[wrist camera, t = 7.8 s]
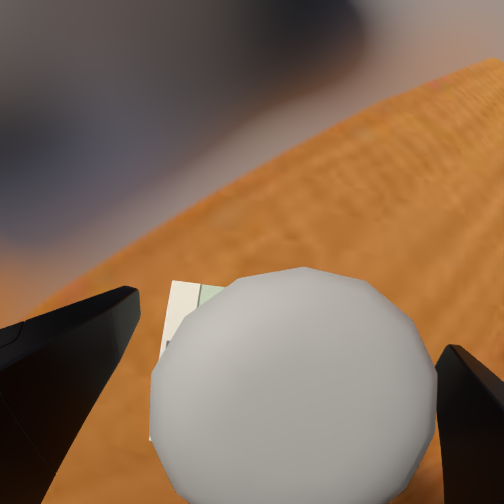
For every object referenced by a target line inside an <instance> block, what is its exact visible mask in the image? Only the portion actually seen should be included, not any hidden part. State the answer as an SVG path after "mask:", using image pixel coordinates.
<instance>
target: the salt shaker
mask: <svg viewBox="0 0 504 504" xmlns="http://www.w3.org/2000/svg"><path fill="white" fill-rule="evenodd" d="M436 404H437V372H436V369H435V367H434V365H433V363H432V360H431V358H430V356H429V354H428V352H427V349H426V347H425V345H424V343H423V341H422V339H421V337H420V334H419V332H418V330H417V328H416V326H415V324H414V322H413V320H412V319H411V318H409V317H408V316H407V315H406V314H405V313H404V312H402V311H401V310H400V309H399V308H398V307H396V306H395V305H394V304H393V303H392V302H391V301H389V300H388V299H387V298H386V297H385V296H383V295H382V294H381V293H380V292H378V291H377V290H376V289H375V288H374V287H372V286H371V285H370V284H369V283H368V282H366V281H363V280H359V279H355V278H350V277H346V276H342V275H337V274H333V273H329V272H324V271H320V270H316V269H311V268H307V267H300V268H294V269H288V270H283V271H277V272H272V273H266V274H260V275H255V276H249V277H243V278H238V279H237V280H236V281H234V282H233V283H231V284H230V285H229V286H227V287H226V288H224V289H223V290H222V291H220V292H219V293H217V294H216V295H215V296H213V297H212V298H210V299H209V300H208V301H206V302H205V303H203V304H202V305H201V306H199V307H198V308H196V309H195V310H194V311H192V312H191V313H189V314H188V315H187V316H185V317H184V319H183V320H182V322H181V324H180V325H179V327H178V329H177V330H176V332H175V334H174V336H173V337H172V339H171V341H170V342H169V344H168V346H167V347H166V349H165V351H164V352H163V354H162V356H161V358H160V359H159V361H158V363H157V364H156V366H155V368H154V370H153V371H152V375H151V397H150V438H151V441H152V443H153V445H154V448H155V450H156V452H157V454H158V457H159V459H160V461H161V463H162V465H163V467H164V469H165V472H166V474H167V476H168V478H169V480H170V482H171V484H172V486H173V488H174V490H175V492H176V493H177V494H178V495H180V496H181V497H182V498H183V499H185V500H186V501H187V502H189V503H190V504H387V503H389V502H390V501H391V500H393V499H394V498H395V497H396V496H397V495H399V494H400V493H401V492H402V491H404V490H405V489H406V487H407V486H408V484H409V482H410V480H411V479H412V477H413V475H414V473H415V471H416V470H417V468H418V466H419V464H420V462H421V460H422V458H423V456H424V454H425V452H426V450H427V448H428V446H429V444H430V442H431V440H432V438H433V436H434V432H435V420H436Z"/></svg>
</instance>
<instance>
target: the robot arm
mask: <svg viewBox="0 0 504 504" xmlns="http://www.w3.org/2000/svg"><path fill="white" fill-rule="evenodd" d="M140 315H141V310H140V297H139V291H138V289H137V288H134V287H130V286H122V287H119V288H116V289H113V290H110V291H107V292H104V293H102V294H99V295H96V296H93V297H90V298H87V299H84V300H82V301H79V302H76V303H73V304H70V305H67V306H65V307H62V308H59V309H56V310H53V311H50V312H48V313H45V314H42V315H39V316H36V317H34V318H31V319H28V320H25V322H24V321H22V322H19V323H17V324H14V325H11V326H8V327H5V328H2V329H0V504H41V502H42V500H43V498H44V496H45V494H46V492H47V491H48V489H49V487H50V485H51V483H52V481H53V479H54V477H55V475H56V472H57V471H58V469H59V467H60V465H61V463H62V461H63V460H64V458H65V456H66V454H67V452H68V450H69V448H70V447H71V445H72V443H73V441H74V439H75V438H76V436H77V434H78V432H79V430H80V429H81V427H82V425H83V423H84V421H85V420H86V418H87V416H88V414H89V413H90V411H91V409H92V407H93V406H94V404H95V402H96V401H97V399H98V397H99V395H100V394H101V392H102V390H103V389H104V387H105V385H106V384H107V382H108V380H109V379H110V377H111V375H112V374H113V372H114V370H115V369H116V367H117V365H118V363H119V362H120V360H121V358H122V356H123V354H124V352H125V349H126V347H127V345H128V343H129V341H130V339H131V336H132V334H133V332H134V330H135V328H136V326H137V324H138V322H139V319H140ZM435 369H436V372H437V404H436V411H437V422H438V429H439V437H440V446H441V456H442V468H443V482H444V504H504V382H503V381H502V380H501V379H500V378H498V377H497V376H496V375H495V374H494V373H493V372H491V371H490V370H489V369H488V368H487V367H486V366H484V365H483V364H482V363H481V362H480V361H478V360H477V359H476V358H475V357H474V356H472V355H471V354H470V353H469V352H468V351H466V350H465V349H464V348H463V347H461V346H460V345H453V344H449V345H447V346H446V347H445V349H444V351H443V352H442V354H441V356H440V358H439V360H438V361H437V363H436V365H435Z"/></svg>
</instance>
